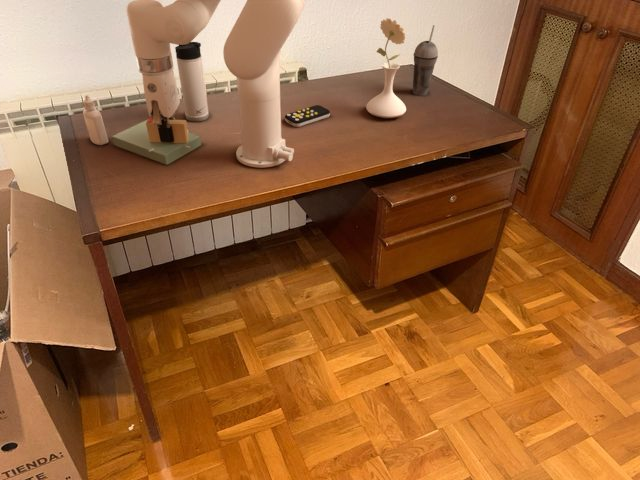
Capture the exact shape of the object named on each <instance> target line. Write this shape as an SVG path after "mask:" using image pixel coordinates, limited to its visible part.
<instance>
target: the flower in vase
mask: <svg viewBox="0 0 640 480" xmlns="http://www.w3.org/2000/svg"><path fill="white" fill-rule="evenodd" d="M379 28H380V30H381V31H382V34H383V35H384V37H385V38H387V40H386V43H385V45H384V46H385V47H384V49H383V48H382V47H379V48H378V49H377V50H376V53H378V54H380V55H381V56H382V57H385V58H386V60H387V62H382V63H381V68H382V69H383V72H384V87H383V90H382V91H381V93H379V94H378V95H375V96H374V97H373V98H371V99H370V100H368V102H367V104H366V105H365V108H366V110H367V112H368V113H369V114H371V115H372V116H375V117H377V118H381V119H394V118H399V117H401V116H403V115H404V114H405V113H406V111H407V107H406V104H405V103H404V102H403V101H402V100H401V99H400V98H399V96H397V95H396V94H395V93H394V90H393V89H394V88H393V85H394V79H395V76H396V73H397V71H398V70H399V69H400V67H401V65H400V64H399V63H396V62H393V60H395V59H396V58H398V57H399V56H400V55H401V54H400V53H399V54H396V55H393V56H391V57H390V58H389V57H388V54H387V47H388V44H389V41H391V43H393V44H395V45H402V44H404V43H405V40H406V34H405V32H404V28H403V27H401V25H400V24H399V23H397V20H392V19H391V18H388V17H386V18H385V19H382V20H381V21H380V26H379ZM390 61H391V62H390Z"/></svg>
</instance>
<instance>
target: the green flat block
mask: <svg viewBox="0 0 640 480" xmlns="http://www.w3.org/2000/svg"><path fill="white" fill-rule="evenodd" d="M147 120H148V119H146V120H143V121H141V122H139V123H137V124H135V125H133V126H131V127H128V128H127V129H124V130H122V131H120V132H118V133H116V134H114V135H111V138H112V142H113V144H114V146H115V147H118V148H119V149H123V150H126V151H129V152H131V153H134V154H137V155H139V156H142V157H145V158H147V159H150V160H152V161H155V162H158V163H160V164H164V165H166V166H168V165H170V164H171V163H173V162H174V161H177V160H179V159H180V158H182V157H183V156H185V155H187V154H189V153H191V152H192V151H194V150H195V149H198V148H199V147H201V146H202V137H201V135H197V134H195V133H192V132H190V129H187V130H188V136H189V140H188V142H187V143H166V142H150V140H149V135H148V131H147V126H146V122H147Z"/></svg>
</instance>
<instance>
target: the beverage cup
mask: <svg viewBox="0 0 640 480" xmlns="http://www.w3.org/2000/svg"><path fill="white" fill-rule="evenodd" d="M435 28H436V27H435V25H434V24H433V25H432V28H431V32H430V35H429V40H424V41H421V42H419V43H418V44H417V46H416V47H415V49H414V52H413V76H412V77H413V78H412V79H413V80H412V82H413V83H412V94H413V95H416V96H427V95H428V91H429V90H430V89H429V88H430V85H431V82H432V76H433V73H434V69H435V65H436V63H437V60H438V57H439V55H438V53H439V52H438V47H437V45H436V44H435V43H434V42H432V38H433V34H434V31H435Z"/></svg>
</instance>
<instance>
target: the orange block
mask: <svg viewBox="0 0 640 480" xmlns="http://www.w3.org/2000/svg"><path fill="white" fill-rule="evenodd" d="M146 120H147V122H146V126H147V131H148V135H149V140H150V142H161V141H160V136H159V131H158V127H157V125H154V117H149V118H148V119H146ZM169 122H170V126H172V131H173V136H174V142H166V143H187V142H188V140H189V136H188V132H189V131H188V130H189V129H188V124H187V119H175V120H169Z"/></svg>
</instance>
